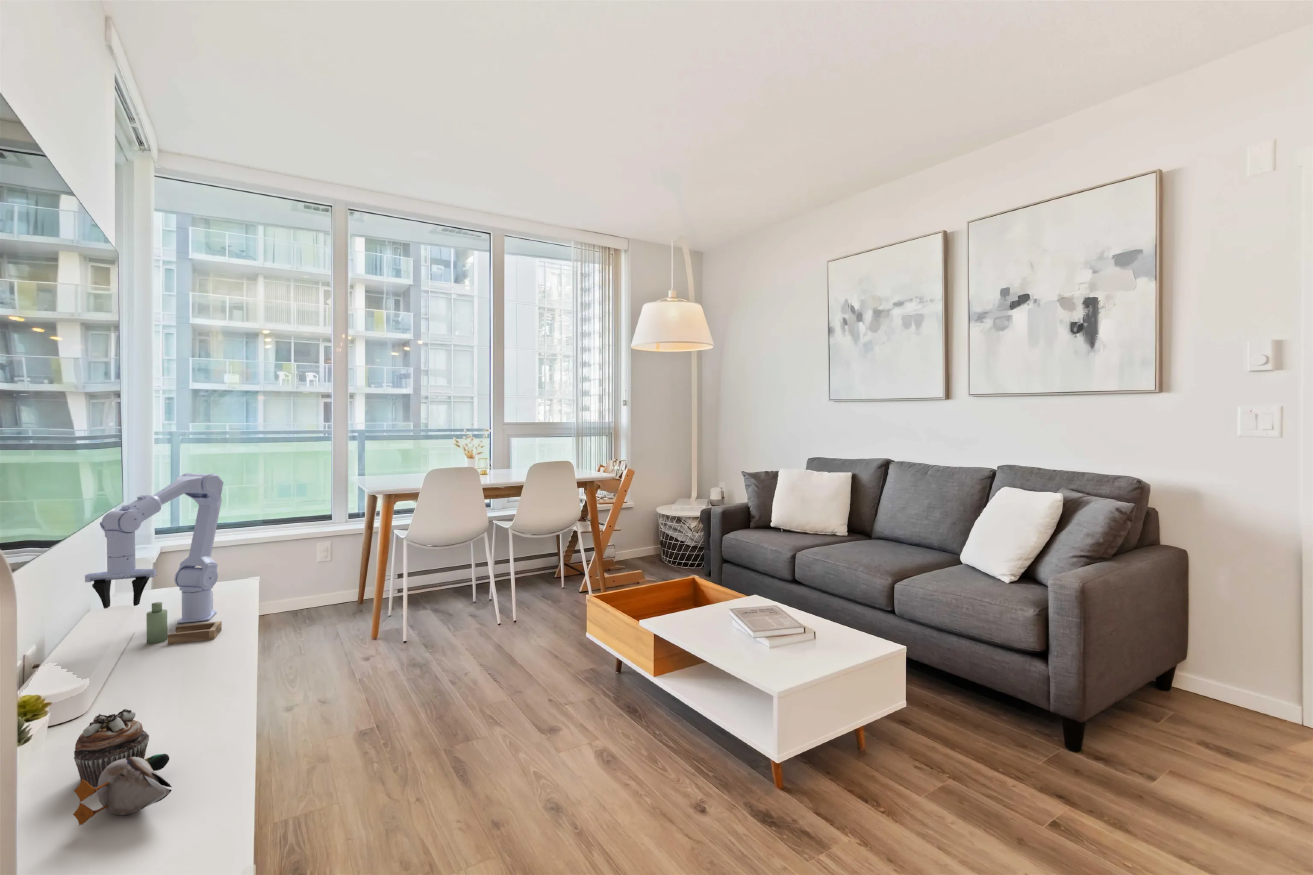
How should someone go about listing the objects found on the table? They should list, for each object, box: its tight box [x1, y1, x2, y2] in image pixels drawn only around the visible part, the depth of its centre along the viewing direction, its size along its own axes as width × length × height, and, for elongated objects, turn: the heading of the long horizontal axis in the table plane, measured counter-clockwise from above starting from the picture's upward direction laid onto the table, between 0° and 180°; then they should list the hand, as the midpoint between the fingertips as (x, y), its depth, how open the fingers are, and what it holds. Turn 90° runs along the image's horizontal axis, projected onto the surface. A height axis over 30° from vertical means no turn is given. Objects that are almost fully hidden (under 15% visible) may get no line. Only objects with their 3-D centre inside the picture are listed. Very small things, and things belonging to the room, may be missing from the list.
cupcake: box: [73, 708, 150, 788], centre depth 104 cm, size 10×10×10 cm
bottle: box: [145, 601, 168, 645], centre depth 167 cm, size 4×4×10 cm
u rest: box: [167, 620, 223, 645], centre depth 171 cm, size 8×10×2 cm
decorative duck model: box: [72, 753, 172, 826], centre depth 97 cm, size 15×8×15 cm
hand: (121, 606), depth 164 cm, fingers open, 6 cm apart
